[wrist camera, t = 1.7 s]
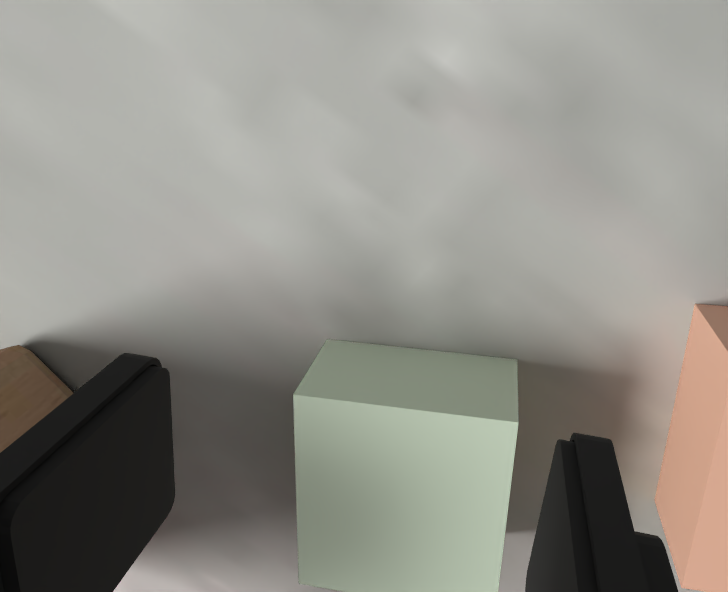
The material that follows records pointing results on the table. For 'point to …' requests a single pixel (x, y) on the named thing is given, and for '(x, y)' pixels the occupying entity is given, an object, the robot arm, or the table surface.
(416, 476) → the sage block
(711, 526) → the terracotta block
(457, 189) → the table surface
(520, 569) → the table surface
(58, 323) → the table surface
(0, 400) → the wooden block
